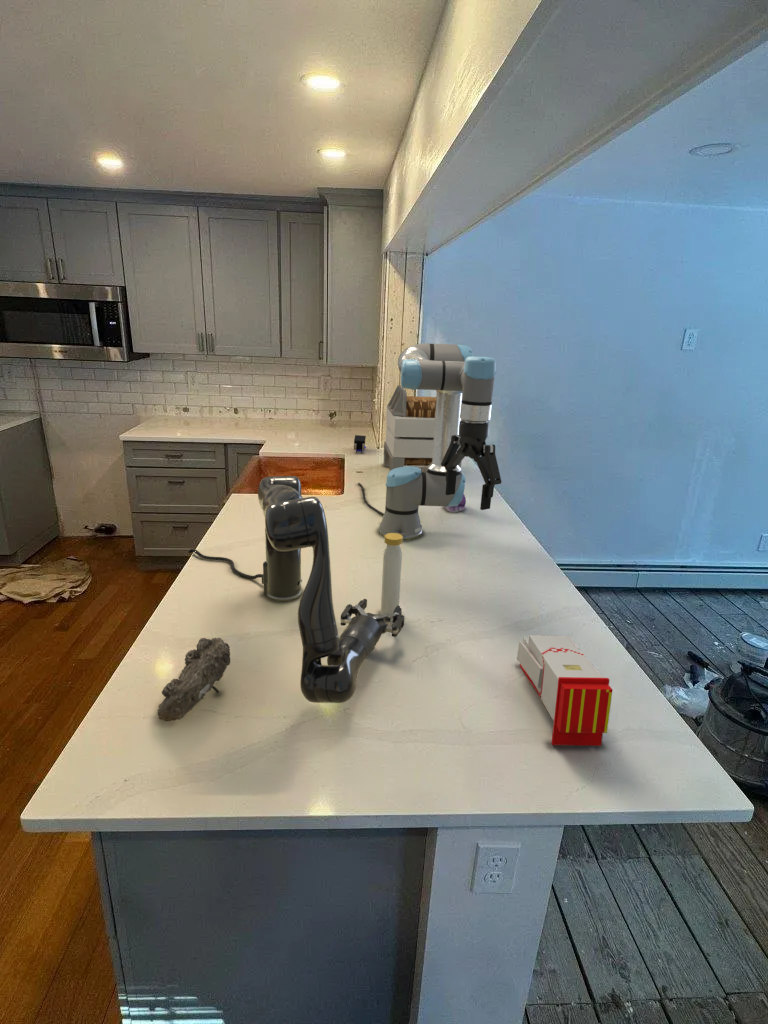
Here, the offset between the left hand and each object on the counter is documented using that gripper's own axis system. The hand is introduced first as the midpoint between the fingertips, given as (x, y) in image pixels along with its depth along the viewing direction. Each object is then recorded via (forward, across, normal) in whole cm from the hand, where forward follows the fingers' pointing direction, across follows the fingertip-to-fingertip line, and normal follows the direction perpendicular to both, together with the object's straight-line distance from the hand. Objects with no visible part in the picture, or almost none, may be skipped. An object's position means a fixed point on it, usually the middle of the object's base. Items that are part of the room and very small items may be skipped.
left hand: (381, 605), depth 138 cm
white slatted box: (+141, +27, +7) cm, 144 cm away
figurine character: (+169, +69, +7) cm, 183 cm away
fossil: (-36, +26, +6) cm, 45 cm away
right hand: (+24, -14, -21) cm, 35 cm away
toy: (-12, -42, +6) cm, 44 cm away
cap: (+7, 0, -15) cm, 17 cm away
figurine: (+96, +1, +7) cm, 97 cm away
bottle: (+7, 0, +6) cm, 10 cm away
